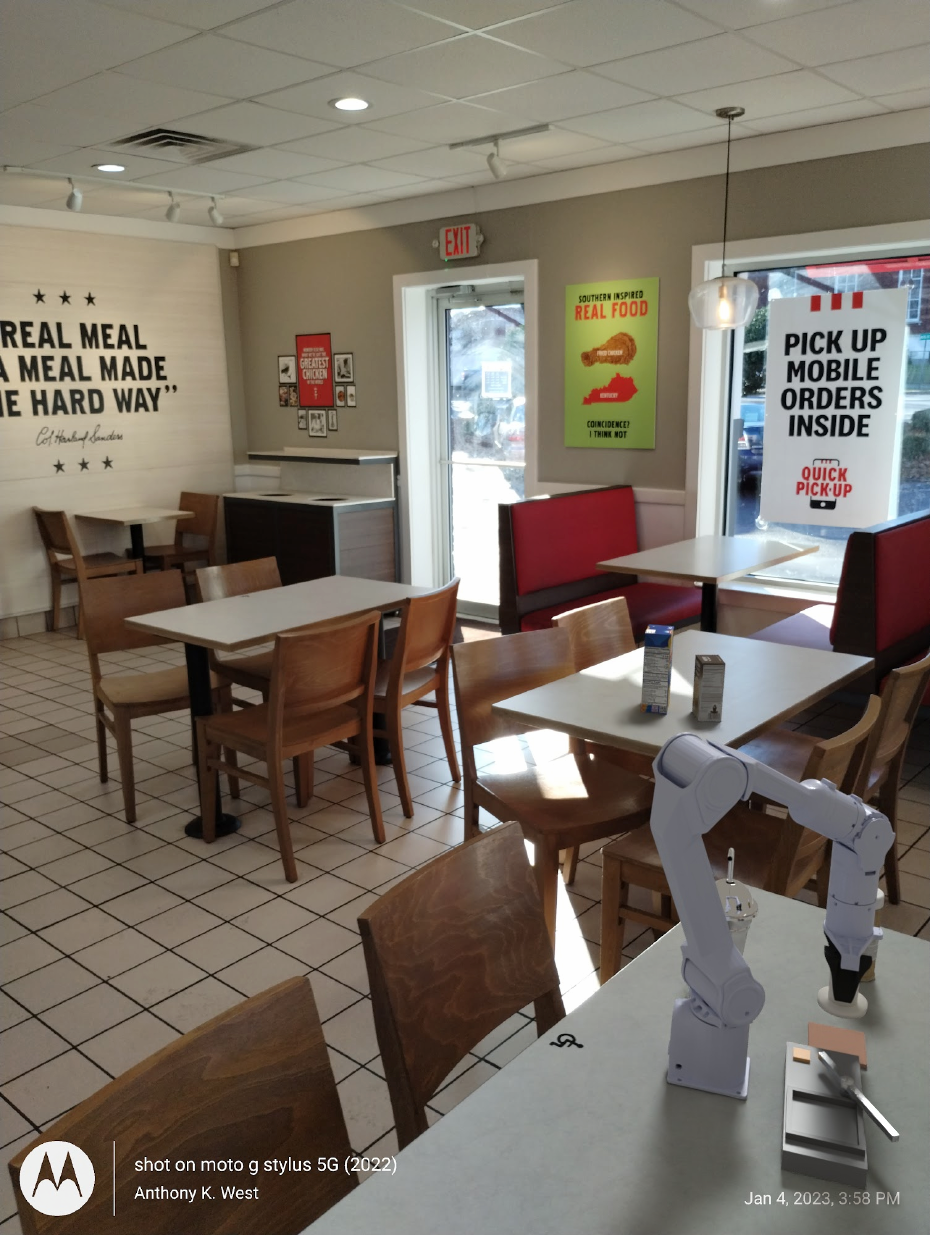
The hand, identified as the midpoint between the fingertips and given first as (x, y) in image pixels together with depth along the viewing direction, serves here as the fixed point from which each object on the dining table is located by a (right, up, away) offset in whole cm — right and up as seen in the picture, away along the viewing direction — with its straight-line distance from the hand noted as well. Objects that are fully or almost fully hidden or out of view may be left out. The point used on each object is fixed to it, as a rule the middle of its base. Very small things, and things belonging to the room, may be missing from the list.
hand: (842, 991), depth 129 cm
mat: (0, -8, +2) cm, 8 cm away
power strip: (-7, -11, -12) cm, 17 cm away
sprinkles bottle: (+9, -4, +18) cm, 21 cm away
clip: (-4, -8, -13) cm, 16 cm away
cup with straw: (-10, -4, +19) cm, 22 cm away
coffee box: (+16, +21, +139) cm, 141 cm away
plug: (0, -2, 0) cm, 2 cm away
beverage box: (+4, +23, +146) cm, 148 cm away
